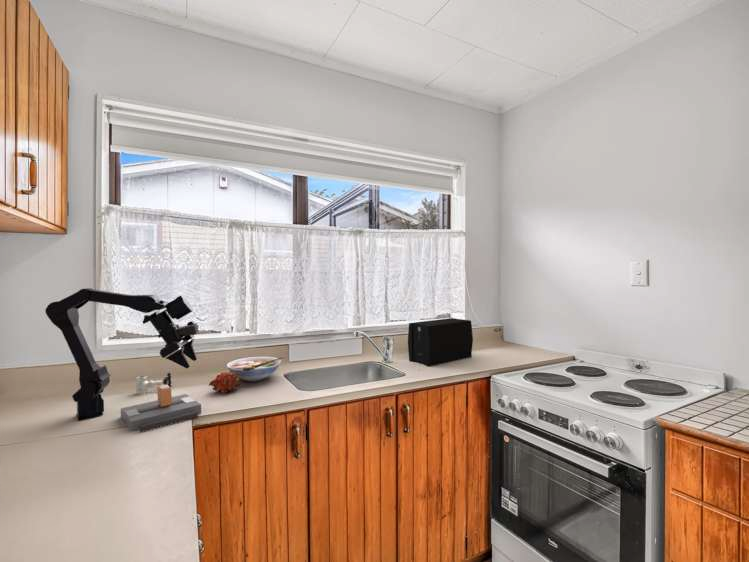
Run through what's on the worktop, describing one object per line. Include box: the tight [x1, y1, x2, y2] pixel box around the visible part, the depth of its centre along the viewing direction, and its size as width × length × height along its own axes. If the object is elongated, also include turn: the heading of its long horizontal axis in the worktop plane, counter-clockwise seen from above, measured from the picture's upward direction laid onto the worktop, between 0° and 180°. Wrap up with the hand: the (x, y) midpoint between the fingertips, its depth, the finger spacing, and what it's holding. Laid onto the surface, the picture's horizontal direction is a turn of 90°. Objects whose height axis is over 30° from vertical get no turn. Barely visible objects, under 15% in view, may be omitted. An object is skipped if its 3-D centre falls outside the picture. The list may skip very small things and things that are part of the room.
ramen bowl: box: [226, 356, 285, 382], centre depth 163 cm, size 25×23×8 cm
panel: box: [120, 393, 202, 432], centre depth 123 cm, size 20×15×3 cm
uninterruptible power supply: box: [407, 317, 474, 367], centre depth 198 cm, size 16×34×20 cm, turn 126°
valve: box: [135, 372, 172, 395], centre depth 148 cm, size 7×7×12 cm
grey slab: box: [139, 411, 199, 433], centre depth 123 cm, size 16×20×2 cm
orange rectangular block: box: [156, 384, 173, 407], centre depth 123 cm, size 3×4×6 cm
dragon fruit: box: [208, 370, 242, 394], centre depth 147 cm, size 8×8×12 cm
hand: (192, 363), depth 131 cm, fingers open, 9 cm apart
